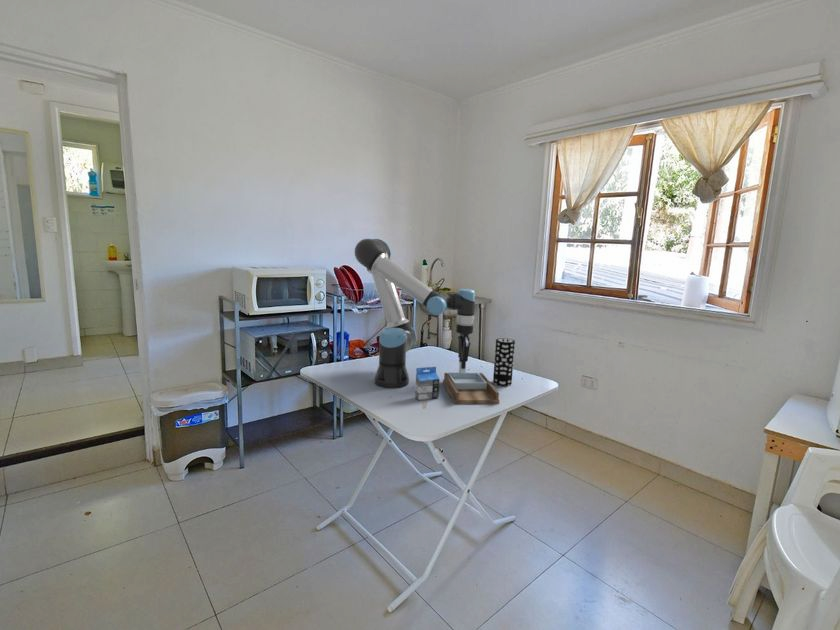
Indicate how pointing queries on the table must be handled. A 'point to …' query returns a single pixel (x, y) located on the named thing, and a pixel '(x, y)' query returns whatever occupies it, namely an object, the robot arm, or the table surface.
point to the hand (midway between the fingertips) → (461, 374)
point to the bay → (471, 393)
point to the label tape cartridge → (426, 384)
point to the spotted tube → (503, 362)
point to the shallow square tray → (468, 381)
